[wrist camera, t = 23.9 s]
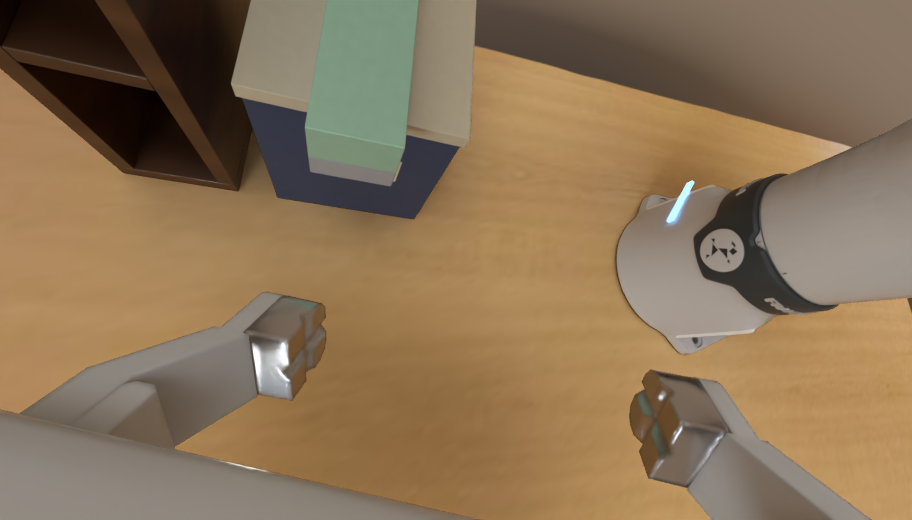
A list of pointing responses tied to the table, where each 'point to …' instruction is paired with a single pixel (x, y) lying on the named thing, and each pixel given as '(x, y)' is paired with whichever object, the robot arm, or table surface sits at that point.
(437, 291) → the table surface
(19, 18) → the shelf
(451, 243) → the table surface
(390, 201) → the archive box
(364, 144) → the green box
